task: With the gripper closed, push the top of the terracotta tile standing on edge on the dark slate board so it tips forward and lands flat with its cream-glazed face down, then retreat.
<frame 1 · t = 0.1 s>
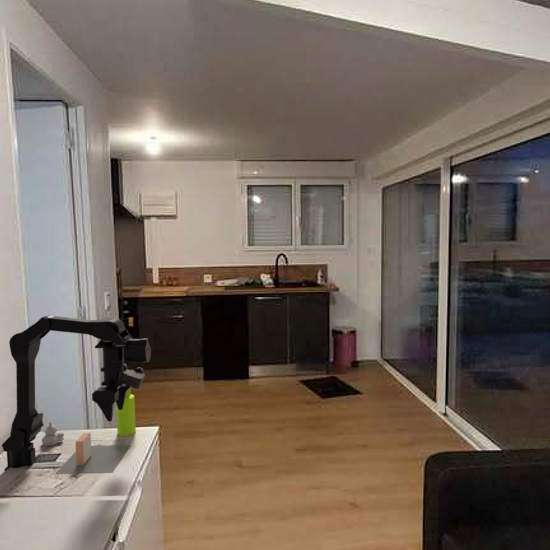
hand: (115, 415, 136), 15 cm above the cabinet top, fingers open, 9 cm apart
tile: (84, 460, 138), point 1 cm above the cabinet top, touching slate board
grey lumpy pointed piece: (53, 446, 151), on the cabinet top
slate board: (95, 461, 139), on the cabinet top
soap dispenser: (125, 435, 158), on the cabinet top
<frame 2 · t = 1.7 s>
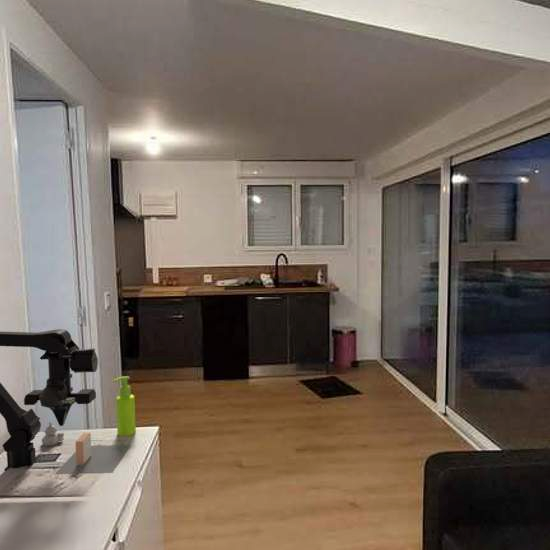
hand: (61, 425, 137), 11 cm above the cabinet top, fingers closed
nothing on the cabinet top moved.
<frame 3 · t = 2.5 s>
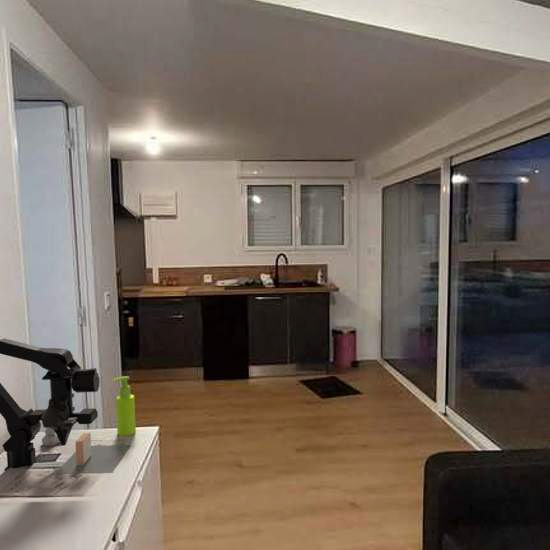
hand: (63, 445, 138), 6 cm above the cabinet top, fingers closed
nothing on the cabinet top moved.
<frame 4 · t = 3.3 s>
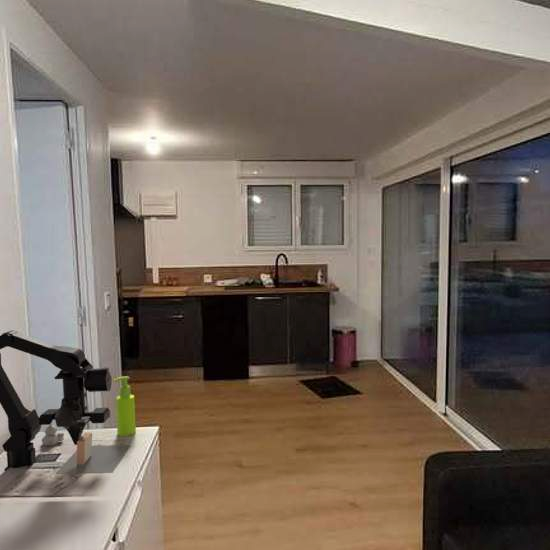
hand: (76, 444, 138), 6 cm above the cabinet top, fingers closed
tile: (84, 460, 138), point 1 cm above the cabinet top, touching gripper, slate board
everything else where it was.
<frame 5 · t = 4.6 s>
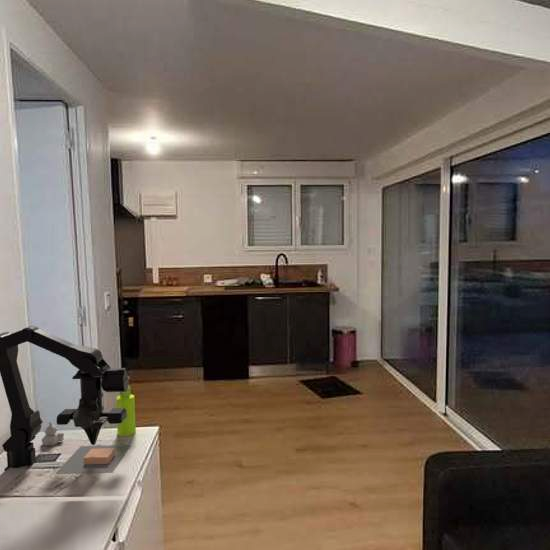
hand: (93, 444, 138), 6 cm above the cabinet top, fingers closed
tile: (87, 456, 138), point 2 cm above the cabinet top, tilted 90°, touching slate board
everything else where it was.
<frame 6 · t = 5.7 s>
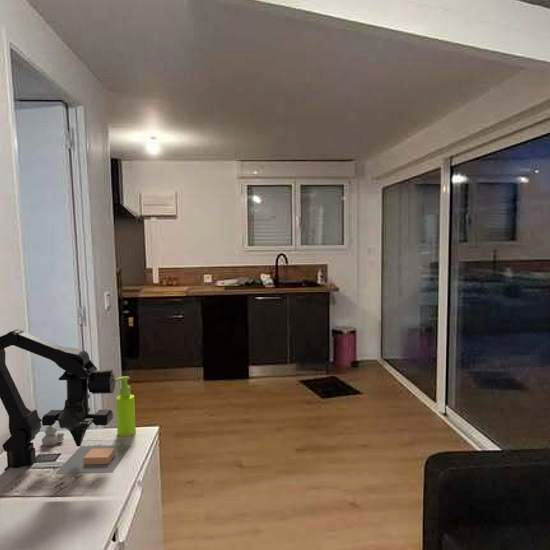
hand: (78, 445, 138), 5 cm above the cabinet top, fingers closed
nothing on the cabinet top moved.
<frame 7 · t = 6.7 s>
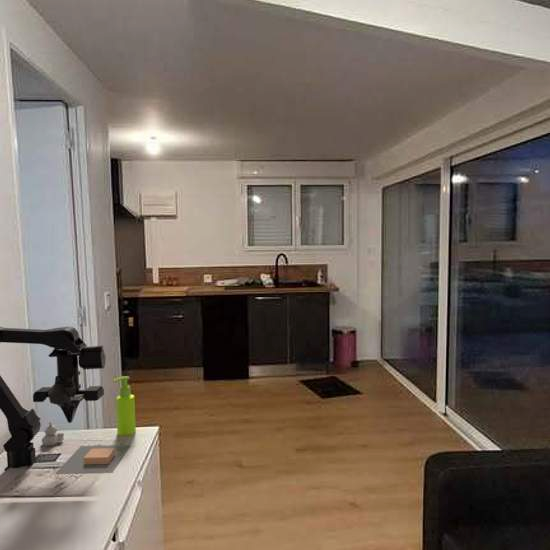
hand: (70, 422, 138), 12 cm above the cabinet top, fingers closed
nothing on the cabinet top moved.
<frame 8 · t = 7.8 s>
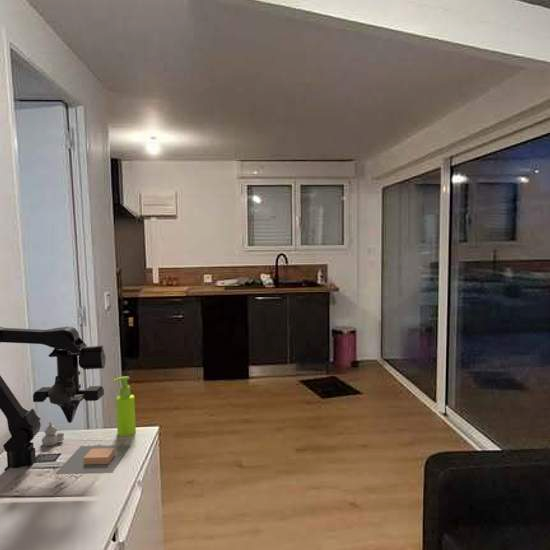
hand: (70, 422, 138), 12 cm above the cabinet top, fingers closed
nothing on the cabinet top moved.
at the end: tile tilted 90°; tile inside the target area (2.6 cm from its centre), point 1.9 cm above the cabinet top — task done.
